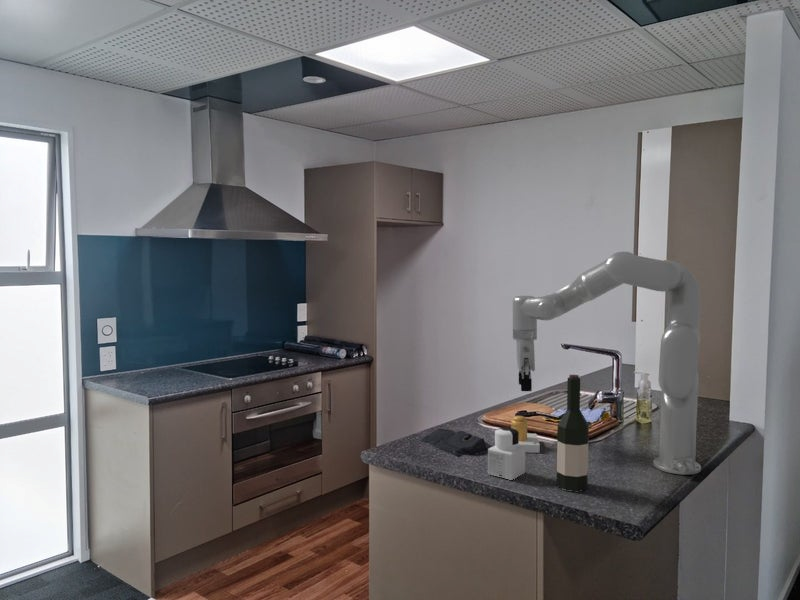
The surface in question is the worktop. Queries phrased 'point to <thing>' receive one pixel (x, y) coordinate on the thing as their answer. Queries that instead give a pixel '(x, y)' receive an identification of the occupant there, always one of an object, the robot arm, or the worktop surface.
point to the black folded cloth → (456, 442)
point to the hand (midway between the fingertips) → (524, 387)
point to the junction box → (531, 444)
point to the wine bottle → (572, 442)
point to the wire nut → (520, 426)
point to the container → (506, 455)
